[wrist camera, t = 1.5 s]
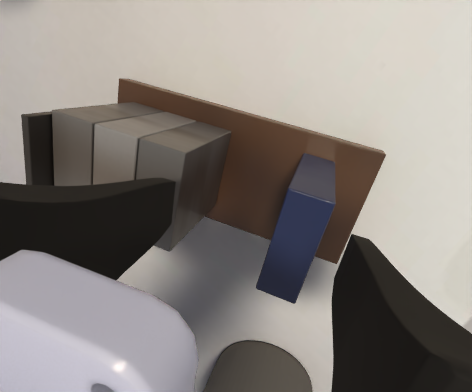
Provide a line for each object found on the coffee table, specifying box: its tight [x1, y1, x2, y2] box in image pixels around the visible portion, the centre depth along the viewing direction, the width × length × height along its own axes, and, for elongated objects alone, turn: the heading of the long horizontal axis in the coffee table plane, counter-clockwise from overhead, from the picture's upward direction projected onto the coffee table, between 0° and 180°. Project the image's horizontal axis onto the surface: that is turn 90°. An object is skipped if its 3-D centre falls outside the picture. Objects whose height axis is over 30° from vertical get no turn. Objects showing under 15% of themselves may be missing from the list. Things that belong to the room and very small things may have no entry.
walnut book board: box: [21, 79, 386, 264], centre depth 17 cm, size 8×18×9 cm, turn 77°
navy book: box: [256, 153, 335, 304], centre depth 16 cm, size 6×2×7 cm, turn 167°
